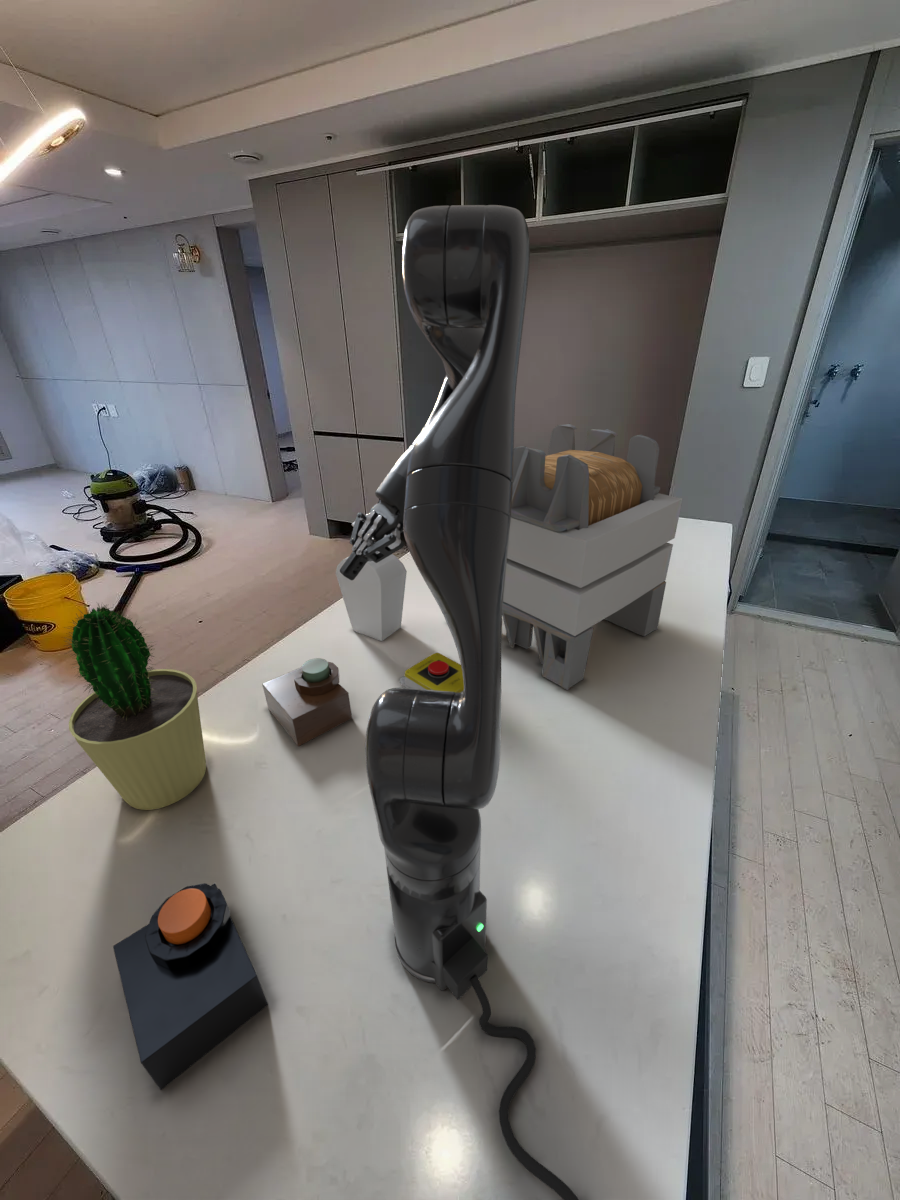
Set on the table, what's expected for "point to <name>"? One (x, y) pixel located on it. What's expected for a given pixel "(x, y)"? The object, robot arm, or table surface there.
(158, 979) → the black push button box
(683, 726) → the table surface
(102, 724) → the potted cactus
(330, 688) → the block back
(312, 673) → the knob back
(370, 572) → the soap bottle
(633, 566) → the transformer
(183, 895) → the knob front
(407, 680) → the emergency button
